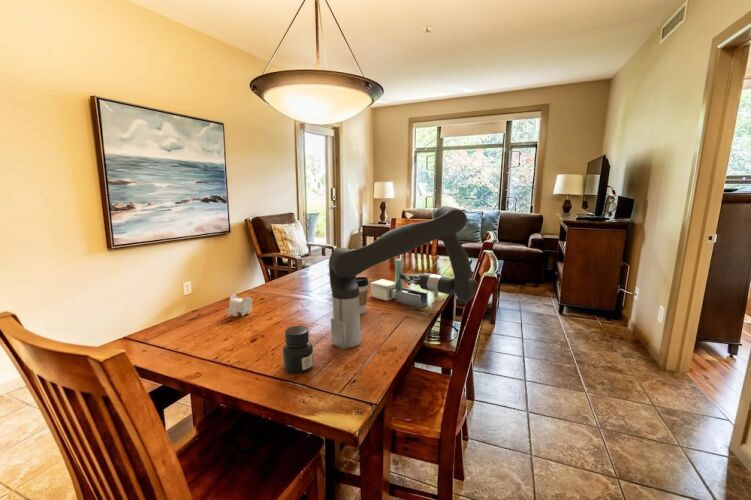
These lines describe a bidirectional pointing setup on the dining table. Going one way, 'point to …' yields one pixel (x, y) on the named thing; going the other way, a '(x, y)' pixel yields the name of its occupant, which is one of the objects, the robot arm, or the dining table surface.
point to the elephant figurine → (239, 305)
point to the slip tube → (397, 279)
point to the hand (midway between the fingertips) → (401, 276)
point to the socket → (382, 289)
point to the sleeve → (411, 297)
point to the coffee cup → (362, 293)
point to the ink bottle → (297, 350)
